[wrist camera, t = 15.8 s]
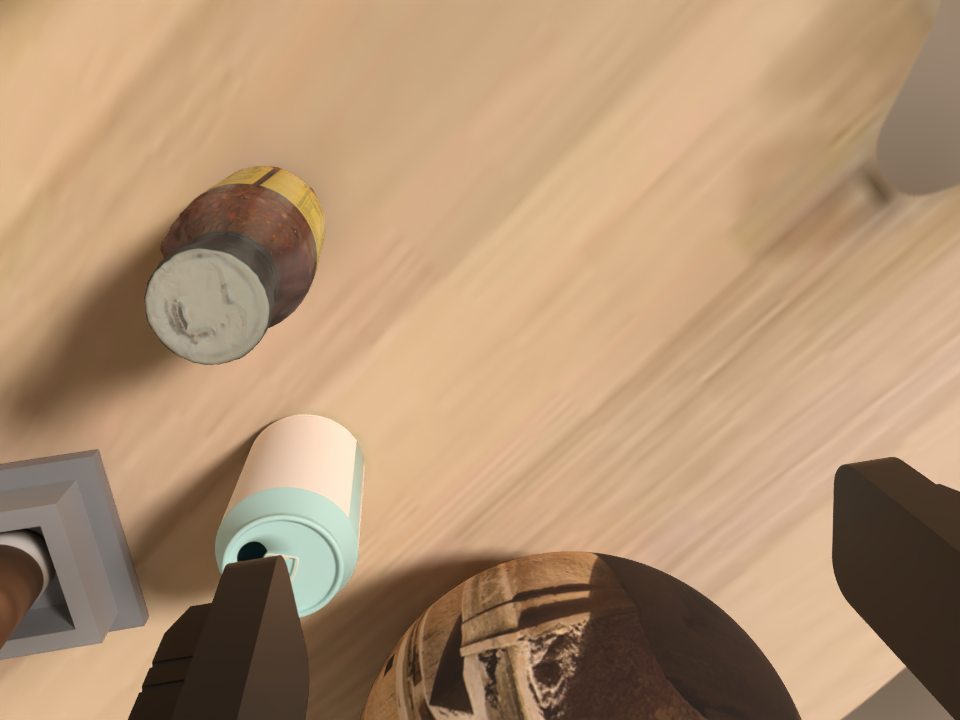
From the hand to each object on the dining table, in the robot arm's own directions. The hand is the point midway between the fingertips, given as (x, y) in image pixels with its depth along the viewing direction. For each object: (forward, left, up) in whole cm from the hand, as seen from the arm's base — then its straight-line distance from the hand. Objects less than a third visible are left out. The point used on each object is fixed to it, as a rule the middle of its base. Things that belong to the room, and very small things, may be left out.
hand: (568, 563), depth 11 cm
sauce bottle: (-1, -9, -36) cm, 37 cm away
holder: (+17, -28, -36) cm, 49 cm away
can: (+14, -10, -36) cm, 40 cm away
